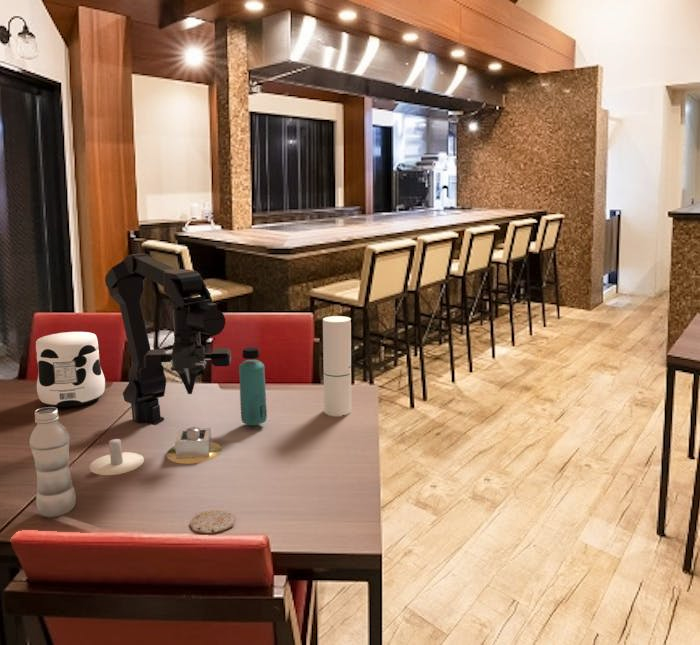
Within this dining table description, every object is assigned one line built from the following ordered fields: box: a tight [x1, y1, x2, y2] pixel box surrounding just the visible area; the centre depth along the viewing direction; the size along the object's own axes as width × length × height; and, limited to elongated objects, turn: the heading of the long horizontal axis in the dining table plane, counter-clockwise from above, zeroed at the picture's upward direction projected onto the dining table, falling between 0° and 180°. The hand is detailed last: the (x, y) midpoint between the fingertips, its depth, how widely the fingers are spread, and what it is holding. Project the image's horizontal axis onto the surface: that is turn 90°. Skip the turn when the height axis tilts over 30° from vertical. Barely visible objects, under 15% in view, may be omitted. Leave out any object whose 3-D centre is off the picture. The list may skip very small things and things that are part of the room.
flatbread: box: [189, 509, 236, 534], centre depth 114 cm, size 8×8×1 cm
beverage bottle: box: [238, 346, 268, 426], centre depth 156 cm, size 6×7×20 cm
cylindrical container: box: [322, 315, 352, 417], centre depth 165 cm, size 7×7×25 cm
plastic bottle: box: [29, 406, 77, 518], centre depth 115 cm, size 6×7×20 cm
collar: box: [174, 427, 212, 459], centre depth 141 cm, size 7×7×4 cm
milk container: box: [35, 331, 106, 408], centre depth 175 cm, size 17×17×18 cm
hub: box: [166, 426, 223, 465], centre depth 141 cm, size 12×12×6 cm
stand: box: [88, 438, 145, 476], centre depth 135 cm, size 11×11×6 cm
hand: (190, 393), depth 146 cm, fingers closed
